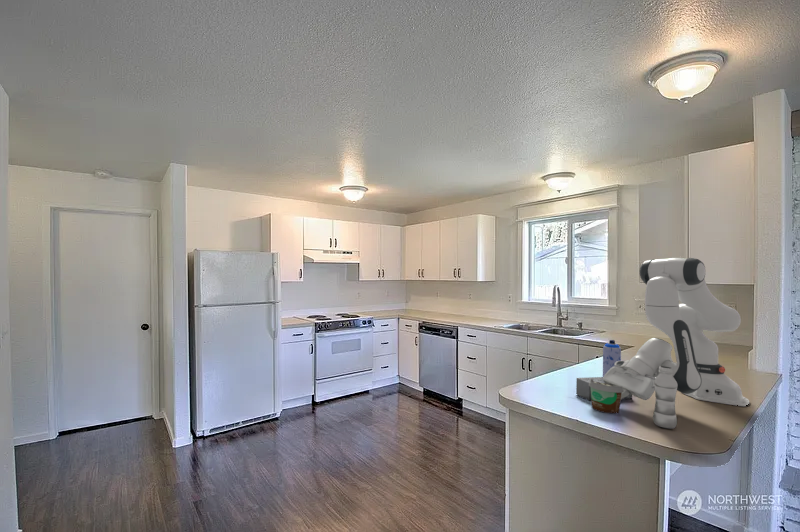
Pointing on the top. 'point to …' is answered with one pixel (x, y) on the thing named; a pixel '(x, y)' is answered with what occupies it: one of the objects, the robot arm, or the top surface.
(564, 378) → the top surface
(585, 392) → the box
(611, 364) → the aerosol can
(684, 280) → the robot arm
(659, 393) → the plastic bottle
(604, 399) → the food container
